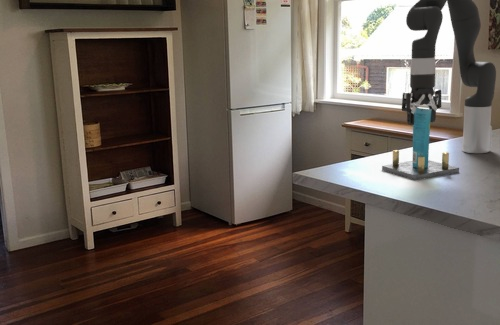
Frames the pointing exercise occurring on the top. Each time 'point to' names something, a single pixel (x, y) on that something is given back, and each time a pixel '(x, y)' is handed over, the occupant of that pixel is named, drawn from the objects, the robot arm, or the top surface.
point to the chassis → (420, 167)
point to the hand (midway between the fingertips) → (421, 123)
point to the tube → (421, 135)
